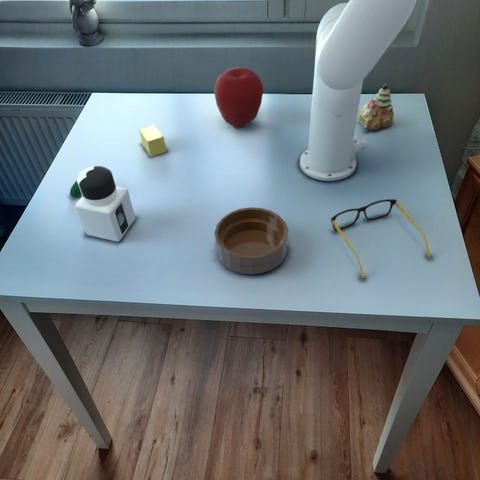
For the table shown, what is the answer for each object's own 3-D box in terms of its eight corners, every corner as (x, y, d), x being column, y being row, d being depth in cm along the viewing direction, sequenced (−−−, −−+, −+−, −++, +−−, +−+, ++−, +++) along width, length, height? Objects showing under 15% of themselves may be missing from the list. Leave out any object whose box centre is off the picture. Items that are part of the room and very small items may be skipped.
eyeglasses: (389, 211, 97) (393, 195, 94) (430, 257, 88) (436, 242, 85) (326, 229, 94) (328, 214, 91) (362, 279, 86) (366, 264, 83)
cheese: (157, 139, 116) (154, 124, 113) (166, 151, 113) (163, 136, 110) (142, 144, 115) (138, 129, 112) (150, 156, 112) (147, 141, 109)
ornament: (368, 135, 113) (376, 94, 105) (353, 123, 117) (359, 82, 109) (394, 125, 115) (404, 84, 107) (379, 114, 119) (387, 73, 111)
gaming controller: (112, 208, 104) (118, 181, 103) (102, 205, 100) (108, 177, 99) (78, 198, 106) (84, 171, 105) (67, 195, 103) (73, 167, 102)
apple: (263, 135, 115) (263, 80, 105) (216, 136, 116) (211, 82, 105) (262, 109, 122) (262, 55, 112) (218, 110, 123) (213, 57, 112)
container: (136, 218, 99) (121, 164, 88) (119, 243, 94) (101, 190, 84) (104, 211, 101) (85, 158, 90) (85, 235, 96) (64, 182, 86)
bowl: (265, 218, 97) (265, 199, 93) (300, 259, 90) (301, 240, 86) (205, 241, 94) (203, 222, 90) (236, 286, 86) (235, 267, 82)
